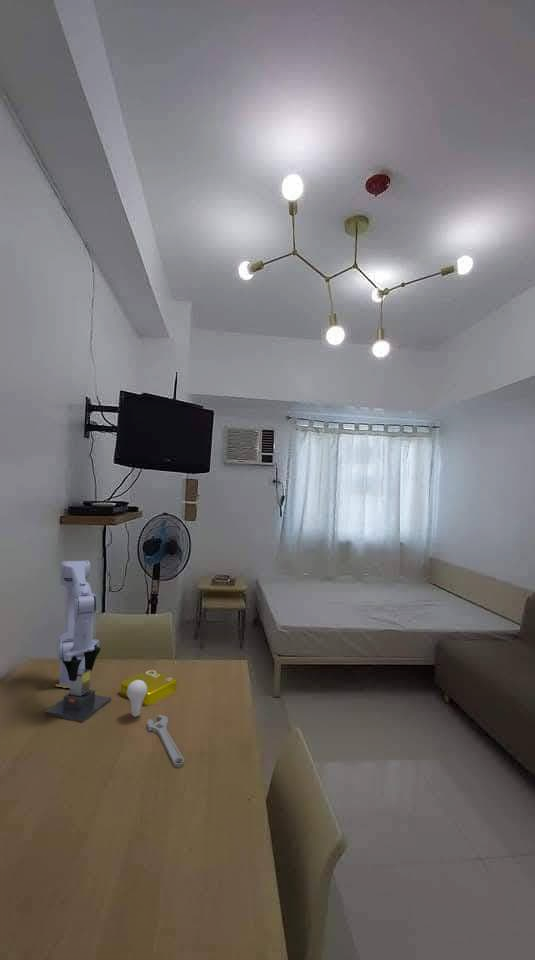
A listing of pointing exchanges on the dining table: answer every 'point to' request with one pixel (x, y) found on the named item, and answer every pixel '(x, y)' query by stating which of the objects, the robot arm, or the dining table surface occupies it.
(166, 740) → the adjustable wrench
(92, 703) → the stand base
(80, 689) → the stand column
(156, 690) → the element tile
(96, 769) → the dining table surface
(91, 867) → the dining table surface
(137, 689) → the lightbulb
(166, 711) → the dining table surface
